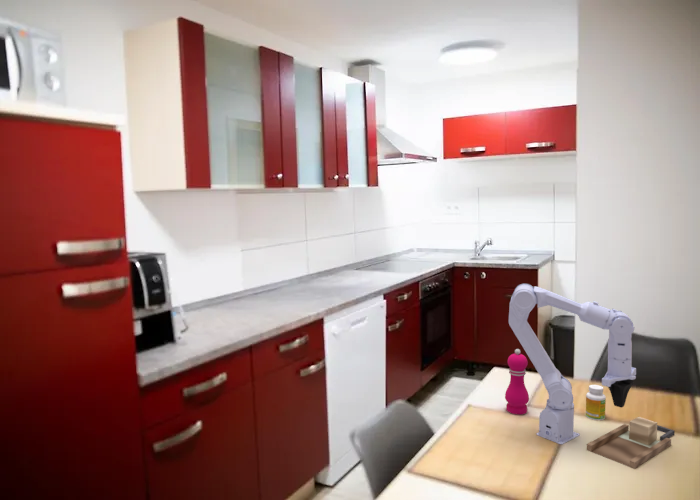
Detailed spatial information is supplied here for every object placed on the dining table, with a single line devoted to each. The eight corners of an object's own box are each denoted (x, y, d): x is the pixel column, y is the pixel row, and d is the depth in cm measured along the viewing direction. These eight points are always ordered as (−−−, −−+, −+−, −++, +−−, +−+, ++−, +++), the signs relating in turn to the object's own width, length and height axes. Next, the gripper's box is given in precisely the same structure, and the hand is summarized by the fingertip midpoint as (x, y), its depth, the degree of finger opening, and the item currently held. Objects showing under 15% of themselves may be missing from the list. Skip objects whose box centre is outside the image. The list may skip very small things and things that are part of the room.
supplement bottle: (602, 423, 158) (603, 391, 157) (583, 418, 161) (584, 387, 160) (606, 416, 162) (607, 386, 161) (587, 412, 165) (588, 382, 164)
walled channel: (634, 470, 131) (634, 462, 131) (586, 451, 141) (586, 444, 141) (670, 446, 143) (671, 439, 142) (624, 430, 152) (624, 423, 152)
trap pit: (662, 442, 145) (663, 437, 144) (633, 432, 151) (633, 427, 151) (674, 435, 149) (674, 430, 149) (644, 426, 155) (644, 421, 155)
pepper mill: (531, 415, 164) (533, 352, 162) (508, 415, 164) (509, 352, 162) (524, 406, 171) (525, 345, 169) (502, 406, 171) (502, 345, 169)
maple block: (647, 445, 143) (648, 427, 142) (629, 438, 147) (629, 421, 146) (656, 440, 145) (657, 422, 145) (637, 433, 149) (638, 416, 149)
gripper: (620, 366, 135) (620, 417, 137) (647, 354, 144) (647, 403, 145) (594, 360, 141) (593, 409, 142) (621, 349, 150) (621, 396, 151)
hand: (619, 405), depth 144 cm, fingers closed
